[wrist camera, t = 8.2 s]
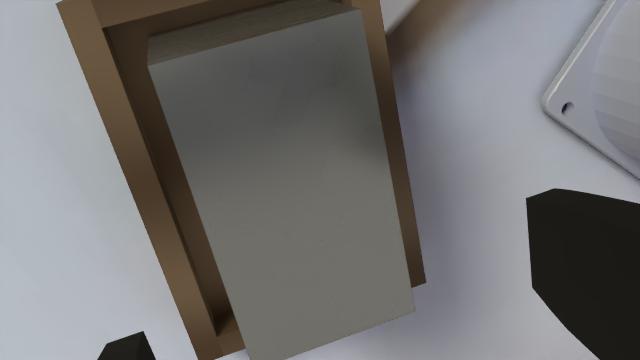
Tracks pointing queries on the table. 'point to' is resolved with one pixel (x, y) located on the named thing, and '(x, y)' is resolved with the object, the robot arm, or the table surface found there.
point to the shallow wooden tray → (162, 157)
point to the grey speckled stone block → (287, 169)
